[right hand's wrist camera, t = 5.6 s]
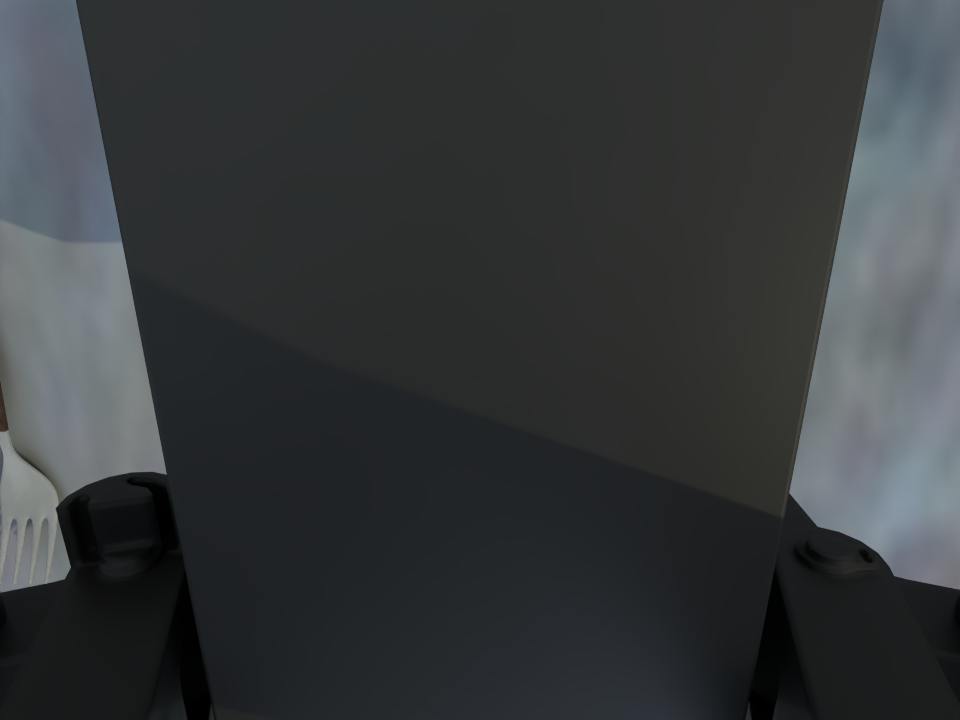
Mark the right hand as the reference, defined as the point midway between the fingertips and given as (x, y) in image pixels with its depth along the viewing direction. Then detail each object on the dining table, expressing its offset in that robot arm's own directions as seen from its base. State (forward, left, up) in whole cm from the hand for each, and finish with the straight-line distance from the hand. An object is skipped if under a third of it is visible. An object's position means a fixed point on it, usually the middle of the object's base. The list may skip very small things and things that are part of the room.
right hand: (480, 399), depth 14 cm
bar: (+2, +8, -1) cm, 8 cm away
